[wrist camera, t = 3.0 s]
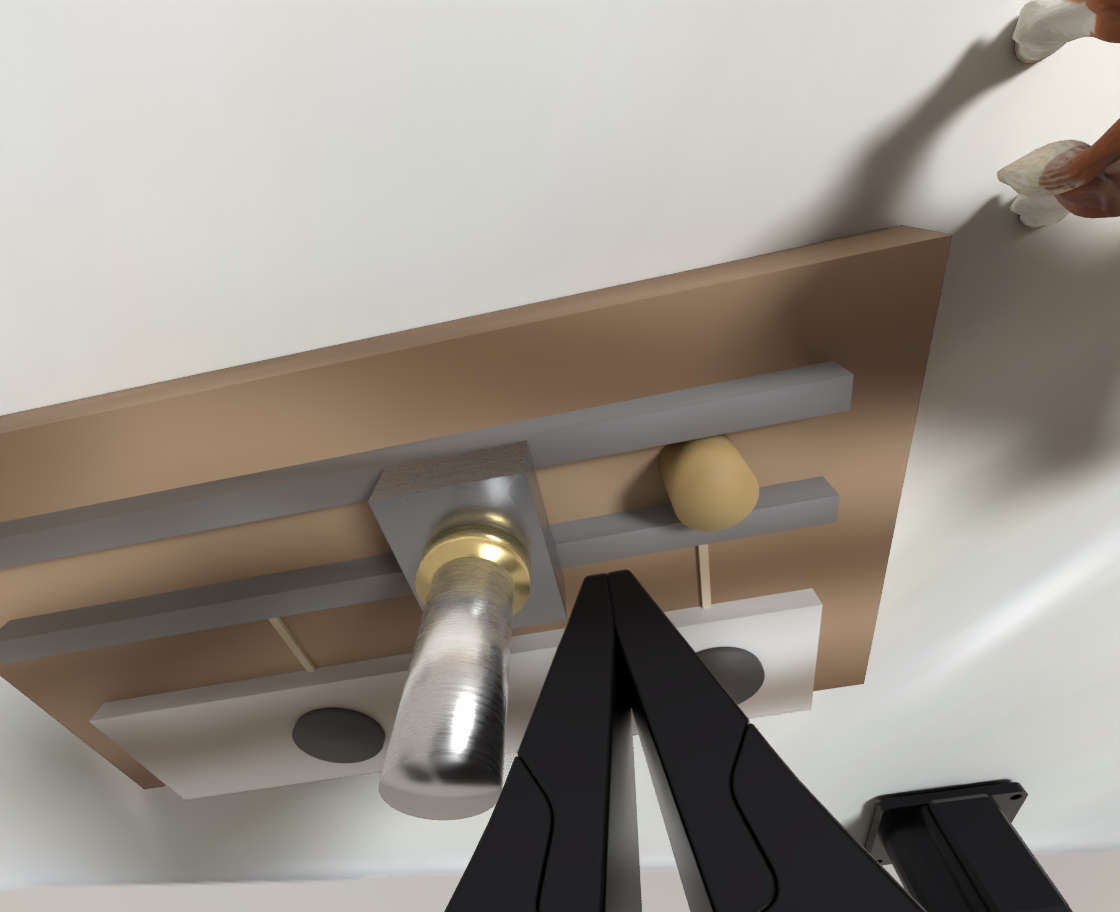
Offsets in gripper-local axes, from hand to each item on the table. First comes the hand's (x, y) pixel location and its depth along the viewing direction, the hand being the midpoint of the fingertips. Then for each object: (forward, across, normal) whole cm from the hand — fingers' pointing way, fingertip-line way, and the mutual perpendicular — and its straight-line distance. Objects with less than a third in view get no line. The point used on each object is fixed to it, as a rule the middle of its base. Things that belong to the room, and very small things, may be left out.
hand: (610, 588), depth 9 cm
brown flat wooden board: (+5, +6, +3) cm, 8 cm away
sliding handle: (+2, +3, 0) cm, 4 cm away
